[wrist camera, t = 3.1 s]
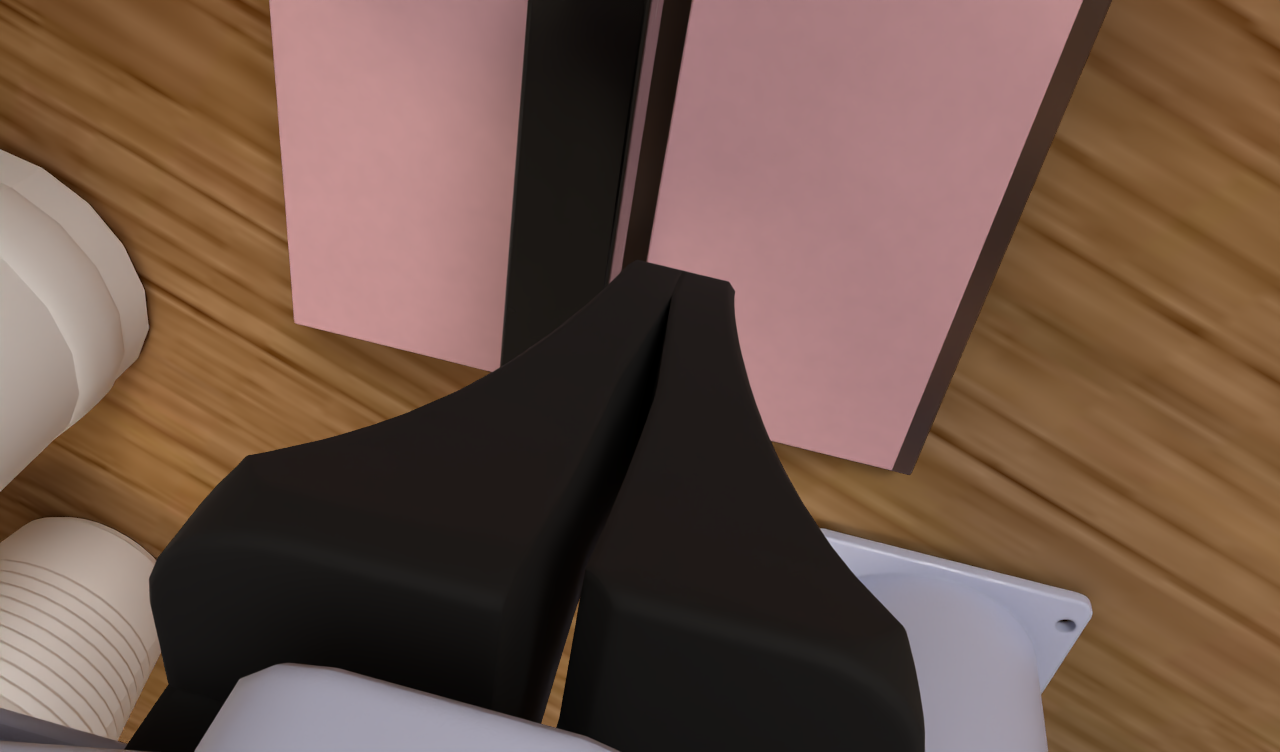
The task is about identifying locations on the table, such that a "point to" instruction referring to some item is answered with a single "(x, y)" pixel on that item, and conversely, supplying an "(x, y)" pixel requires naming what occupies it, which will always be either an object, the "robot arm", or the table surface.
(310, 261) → the pink sponge pad
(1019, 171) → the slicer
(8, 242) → the bottle
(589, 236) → the knife
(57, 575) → the cup
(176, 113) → the table surface
